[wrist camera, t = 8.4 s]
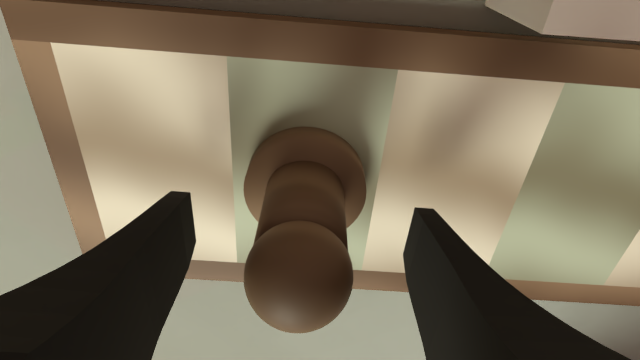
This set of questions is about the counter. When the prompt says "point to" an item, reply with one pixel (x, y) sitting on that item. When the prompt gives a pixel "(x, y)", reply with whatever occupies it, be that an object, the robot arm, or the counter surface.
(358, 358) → the counter surface
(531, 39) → the game board
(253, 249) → the pawn
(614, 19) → the die
